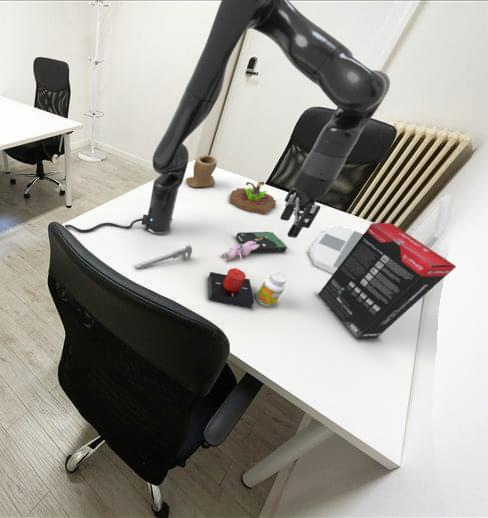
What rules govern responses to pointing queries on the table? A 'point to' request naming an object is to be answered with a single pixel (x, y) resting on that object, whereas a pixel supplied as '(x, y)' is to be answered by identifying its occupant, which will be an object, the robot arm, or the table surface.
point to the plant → (252, 199)
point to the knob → (234, 280)
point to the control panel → (229, 292)
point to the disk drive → (262, 242)
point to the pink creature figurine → (241, 250)
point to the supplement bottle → (271, 289)
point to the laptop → (343, 239)
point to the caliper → (169, 256)
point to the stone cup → (203, 172)
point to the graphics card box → (382, 279)
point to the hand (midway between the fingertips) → (287, 227)
